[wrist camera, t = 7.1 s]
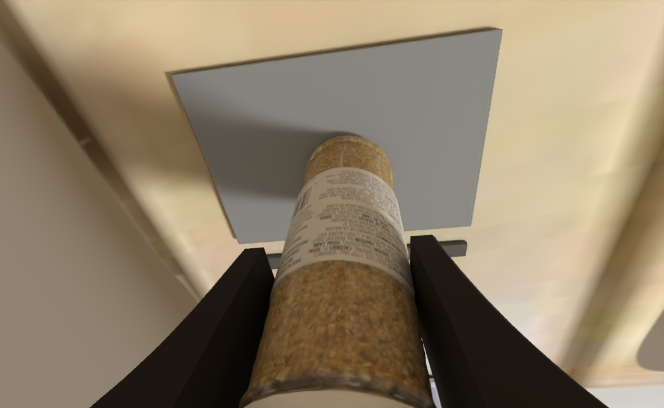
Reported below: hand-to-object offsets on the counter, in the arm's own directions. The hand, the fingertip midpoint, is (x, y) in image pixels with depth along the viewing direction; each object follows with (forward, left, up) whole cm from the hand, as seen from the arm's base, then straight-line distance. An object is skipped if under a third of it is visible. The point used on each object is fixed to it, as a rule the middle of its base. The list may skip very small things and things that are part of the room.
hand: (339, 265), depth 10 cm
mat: (0, 0, -8) cm, 8 cm away
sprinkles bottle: (-1, 0, -7) cm, 7 cm away
